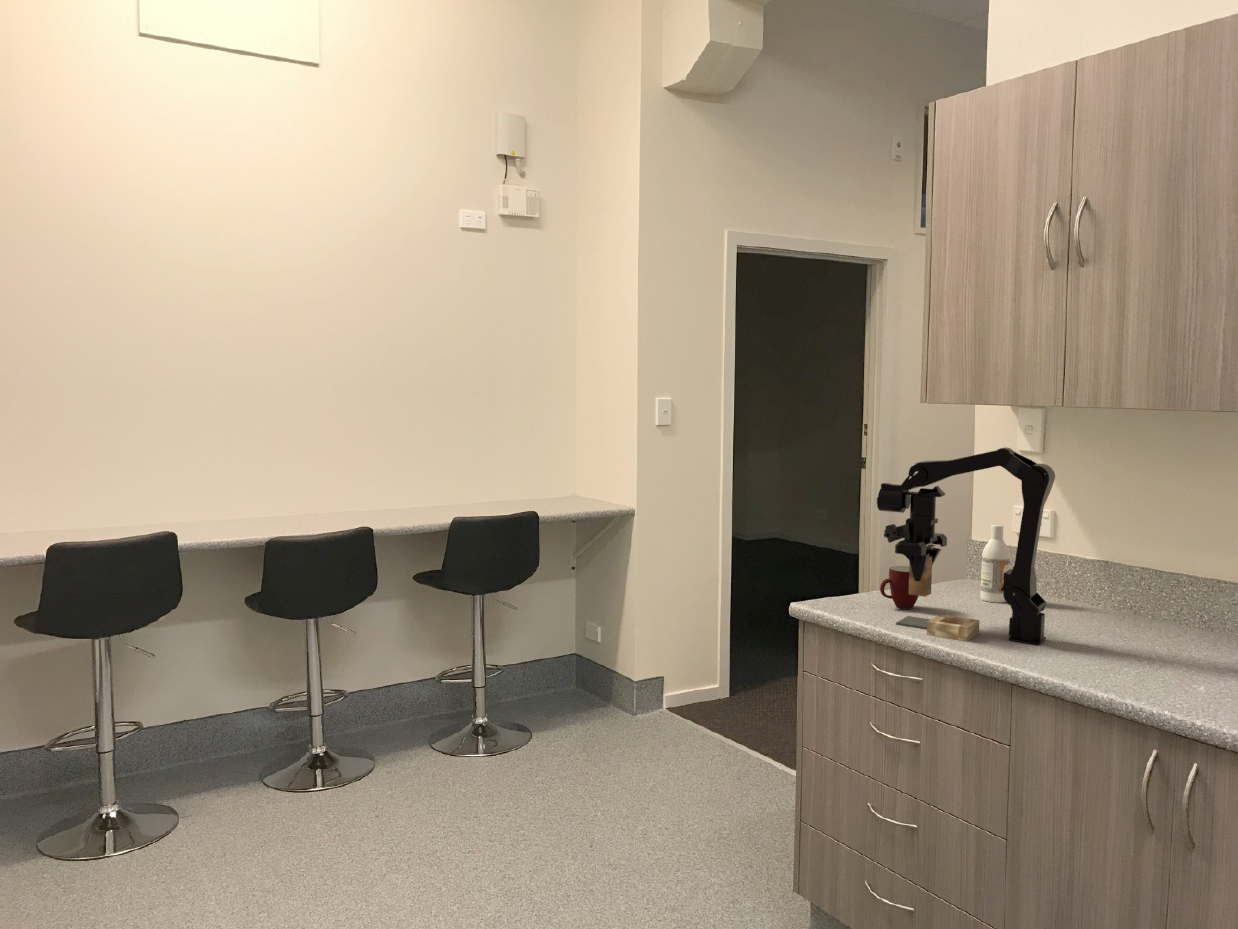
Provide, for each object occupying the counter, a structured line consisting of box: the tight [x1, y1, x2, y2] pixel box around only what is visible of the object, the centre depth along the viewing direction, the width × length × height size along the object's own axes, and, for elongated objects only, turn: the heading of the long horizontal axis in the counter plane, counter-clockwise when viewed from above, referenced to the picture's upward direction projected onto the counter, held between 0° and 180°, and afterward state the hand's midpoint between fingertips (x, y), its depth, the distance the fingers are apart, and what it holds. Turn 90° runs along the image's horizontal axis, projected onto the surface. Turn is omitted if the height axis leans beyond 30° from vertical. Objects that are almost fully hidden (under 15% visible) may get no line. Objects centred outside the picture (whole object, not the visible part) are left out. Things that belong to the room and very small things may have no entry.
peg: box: [909, 556, 933, 598], centre depth 233 cm, size 4×4×9 cm
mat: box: [895, 615, 931, 630], centre depth 234 cm, size 8×8×1 cm
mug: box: [879, 565, 919, 610], centre depth 250 cm, size 11×8×10 cm
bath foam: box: [979, 524, 1011, 604], centre depth 258 cm, size 7×7×20 cm
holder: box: [926, 614, 980, 642], centre depth 225 cm, size 9×9×3 cm
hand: (920, 579), depth 233 cm, fingers closed on peg, 4 cm apart
